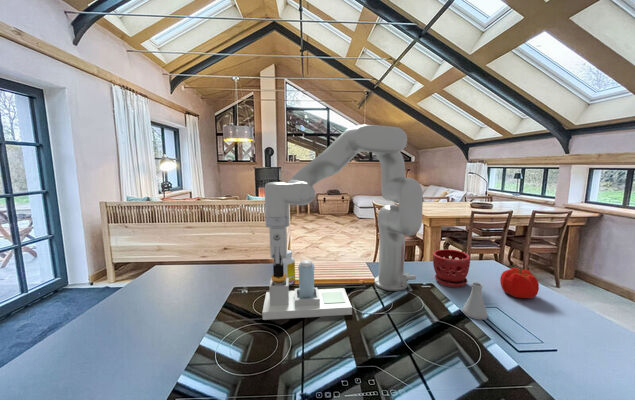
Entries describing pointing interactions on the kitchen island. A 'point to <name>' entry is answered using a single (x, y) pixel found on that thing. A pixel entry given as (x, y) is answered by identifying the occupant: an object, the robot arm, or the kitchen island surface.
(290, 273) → the supplement bottle
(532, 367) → the kitchen island surface
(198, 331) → the kitchen island surface
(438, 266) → the plant pot
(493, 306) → the kitchen island surface
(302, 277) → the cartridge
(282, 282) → the plunger
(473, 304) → the flask
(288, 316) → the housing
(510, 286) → the tomato
